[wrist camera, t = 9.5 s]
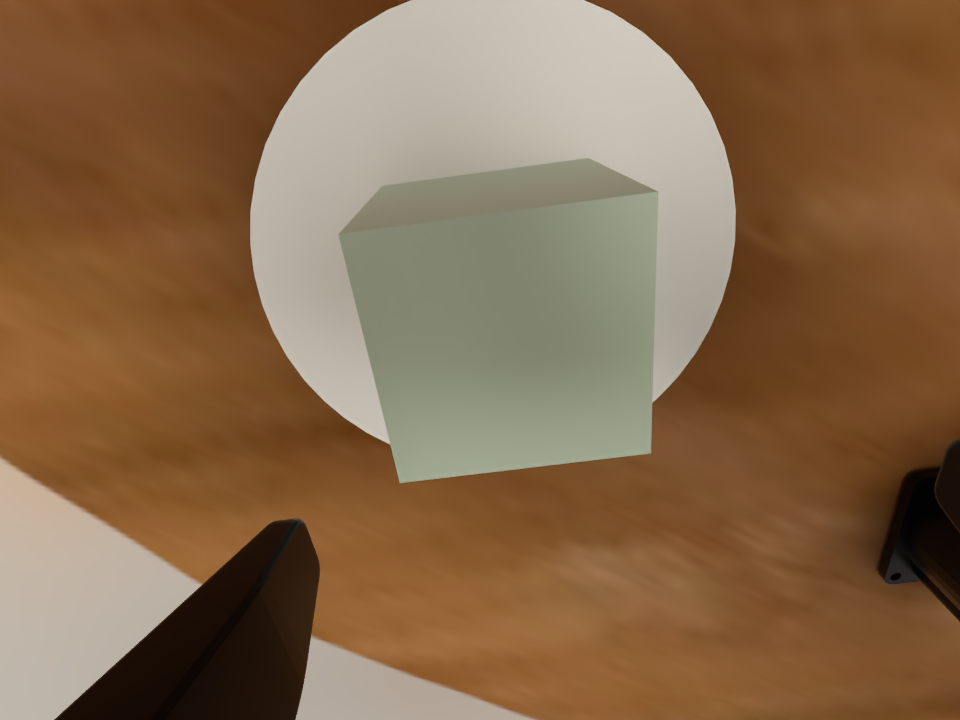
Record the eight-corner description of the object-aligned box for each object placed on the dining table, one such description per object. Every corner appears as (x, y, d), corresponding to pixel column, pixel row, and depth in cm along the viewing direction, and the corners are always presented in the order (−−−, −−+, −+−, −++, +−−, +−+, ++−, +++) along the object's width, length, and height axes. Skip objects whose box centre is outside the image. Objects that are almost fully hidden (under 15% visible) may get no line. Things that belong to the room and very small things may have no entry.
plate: (700, 417, 21) (716, 439, 20) (332, 462, 21) (323, 486, 20) (735, -44, 14) (763, -59, 13) (196, 36, 15) (170, 30, 13)
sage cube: (593, 345, 18) (651, 453, 12) (418, 367, 18) (399, 482, 13) (588, 157, 15) (658, 191, 10) (382, 185, 15) (338, 234, 10)
